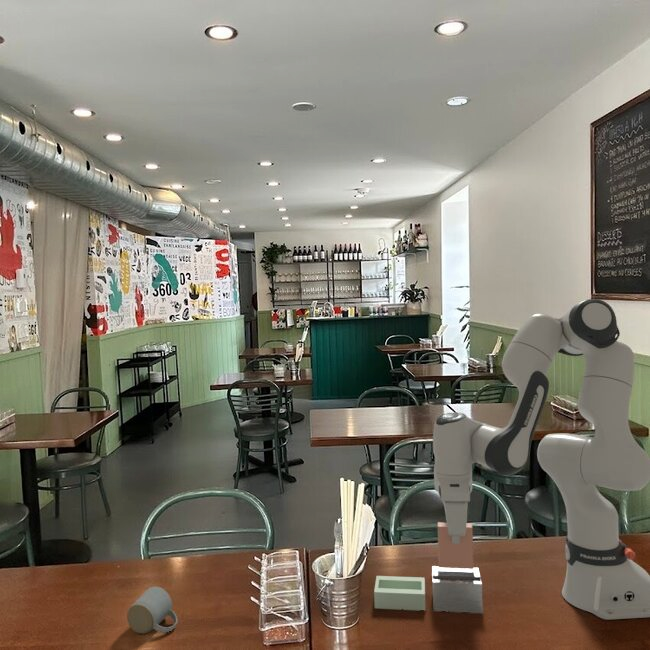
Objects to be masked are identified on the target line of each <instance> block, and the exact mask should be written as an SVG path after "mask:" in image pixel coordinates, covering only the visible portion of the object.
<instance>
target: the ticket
mask: <svg viewBox="0 0 650 650" xmlns="http://www.w3.org/2000/svg"><path fill="white" fill-rule="evenodd" d="M472 524H473V523H470V522H469V523H467V524H466V533H465V535H464V536H460V543H458V544H456V543H452V536H450V535H449V532H448V527H447V522H440V521H438V522H437V541H438V542H437V547H438V549H437V551H438V555H437V556H438V566H439V567H440V568H464V569H473V568H474V545H473V544H474V540H473V539H474V538H473V536H474V535H473V534H474V533H473V525H472Z"/></svg>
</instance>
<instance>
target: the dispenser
mask: <svg viewBox="0 0 650 650" xmlns="http://www.w3.org/2000/svg"><path fill="white" fill-rule="evenodd" d="M431 576H432V577H431V578H432V581H431V582H432V602H433V603H432V605H433V612H441V611H446V613H448V611H449V613H462V612H470V613H469V614H483V613H484V612H483V608H484V607H483V582H482V578H481V573H480V570H479V567H473V569H464V568H440V567H439V565H438V566H436V565H432V566H431Z"/></svg>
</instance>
